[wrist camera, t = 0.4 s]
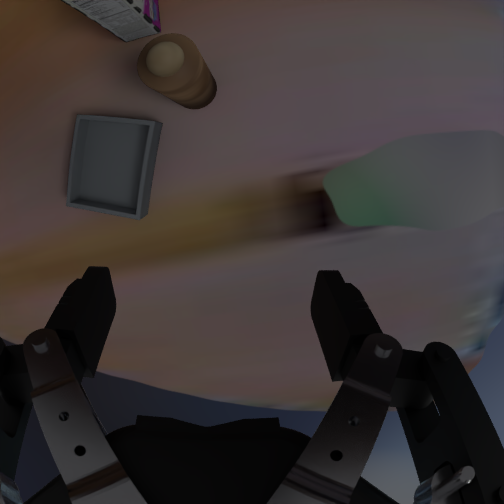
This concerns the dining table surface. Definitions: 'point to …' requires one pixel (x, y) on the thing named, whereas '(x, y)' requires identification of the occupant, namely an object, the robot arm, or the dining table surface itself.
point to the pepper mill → (177, 71)
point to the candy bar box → (122, 16)
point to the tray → (113, 165)
